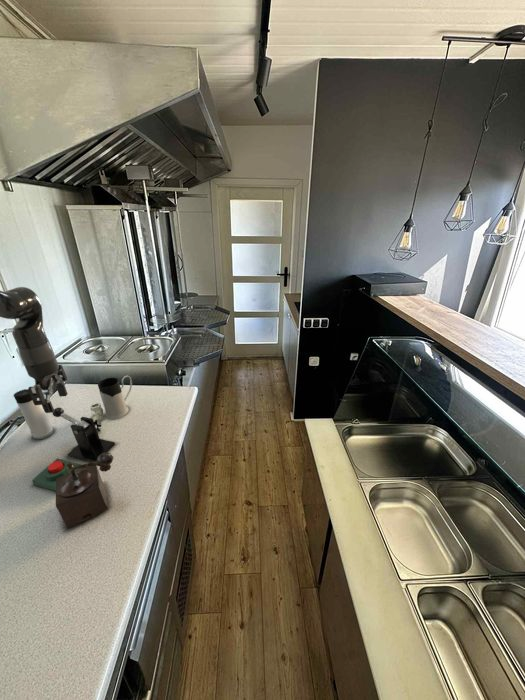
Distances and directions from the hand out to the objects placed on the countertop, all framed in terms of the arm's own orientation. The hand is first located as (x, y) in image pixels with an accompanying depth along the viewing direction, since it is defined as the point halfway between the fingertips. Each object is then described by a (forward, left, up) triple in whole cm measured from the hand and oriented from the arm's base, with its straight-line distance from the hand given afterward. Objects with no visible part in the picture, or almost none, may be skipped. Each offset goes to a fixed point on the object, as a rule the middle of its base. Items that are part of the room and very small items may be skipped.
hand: (57, 403), depth 90 cm
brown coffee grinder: (+20, -13, -23) cm, 33 cm away
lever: (-3, +3, -11) cm, 12 cm away
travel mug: (-22, +5, -23) cm, 32 cm away
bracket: (+3, +3, -23) cm, 23 cm away
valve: (-6, +15, -23) cm, 28 cm away
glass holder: (-3, +26, -23) cm, 35 cm away
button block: (+2, -9, -23) cm, 24 cm away
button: (+2, -9, -19) cm, 21 cm away
